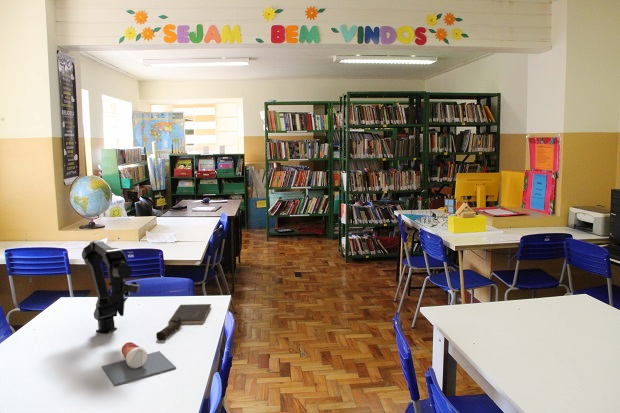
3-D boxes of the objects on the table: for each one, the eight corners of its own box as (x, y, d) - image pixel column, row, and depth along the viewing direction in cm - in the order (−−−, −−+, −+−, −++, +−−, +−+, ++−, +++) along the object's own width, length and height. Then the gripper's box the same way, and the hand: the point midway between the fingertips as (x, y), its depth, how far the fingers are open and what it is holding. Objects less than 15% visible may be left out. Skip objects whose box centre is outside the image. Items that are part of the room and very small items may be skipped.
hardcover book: (211, 308, 254) (211, 304, 254) (203, 324, 231) (202, 320, 231) (179, 309, 254) (179, 304, 253) (168, 325, 231) (168, 320, 231)
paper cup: (122, 337, 194) (131, 345, 182) (141, 341, 198) (151, 350, 186) (115, 357, 193) (123, 367, 181) (134, 361, 196) (143, 371, 185)
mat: (101, 367, 187) (101, 365, 187) (159, 352, 200) (159, 350, 200) (114, 385, 173) (114, 384, 173) (175, 368, 186) (175, 367, 186)
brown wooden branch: (164, 341, 212) (163, 331, 211) (156, 340, 213) (155, 330, 212) (186, 325, 230) (186, 316, 229) (178, 324, 231) (178, 315, 230)
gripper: (133, 277, 202) (139, 315, 201) (139, 274, 220) (144, 309, 219) (104, 282, 199) (110, 320, 199) (112, 278, 217) (118, 313, 217)
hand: (122, 315), depth 209 cm, fingers closed
